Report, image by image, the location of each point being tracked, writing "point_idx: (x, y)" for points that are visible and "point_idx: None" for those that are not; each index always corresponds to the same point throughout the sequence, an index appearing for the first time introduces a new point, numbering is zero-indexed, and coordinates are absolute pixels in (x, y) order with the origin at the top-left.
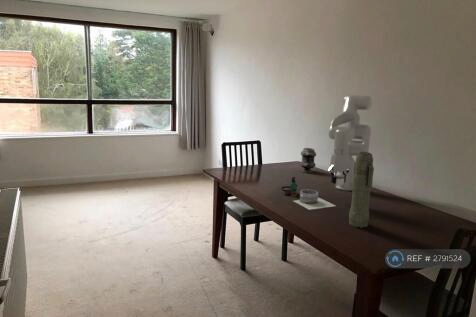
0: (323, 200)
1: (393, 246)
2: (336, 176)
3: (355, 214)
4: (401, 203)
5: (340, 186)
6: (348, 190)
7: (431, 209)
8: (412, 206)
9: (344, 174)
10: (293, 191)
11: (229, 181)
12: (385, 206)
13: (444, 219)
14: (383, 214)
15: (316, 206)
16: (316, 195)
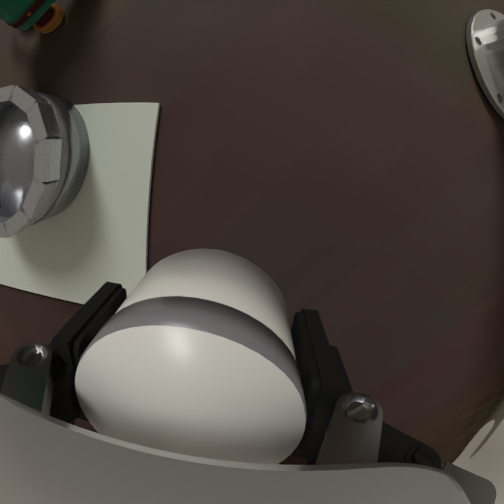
0: (138, 181)
1: None
2: (97, 423)
3: None
4: (481, 384)
5: (488, 48)
6: (495, 109)
7: (468, 439)
8: (467, 415)
9: (304, 455)
10: (15, 26)
11: None
12: (404, 402)
13: None
14: (291, 457)
15: (33, 262)
16: (16, 233)
